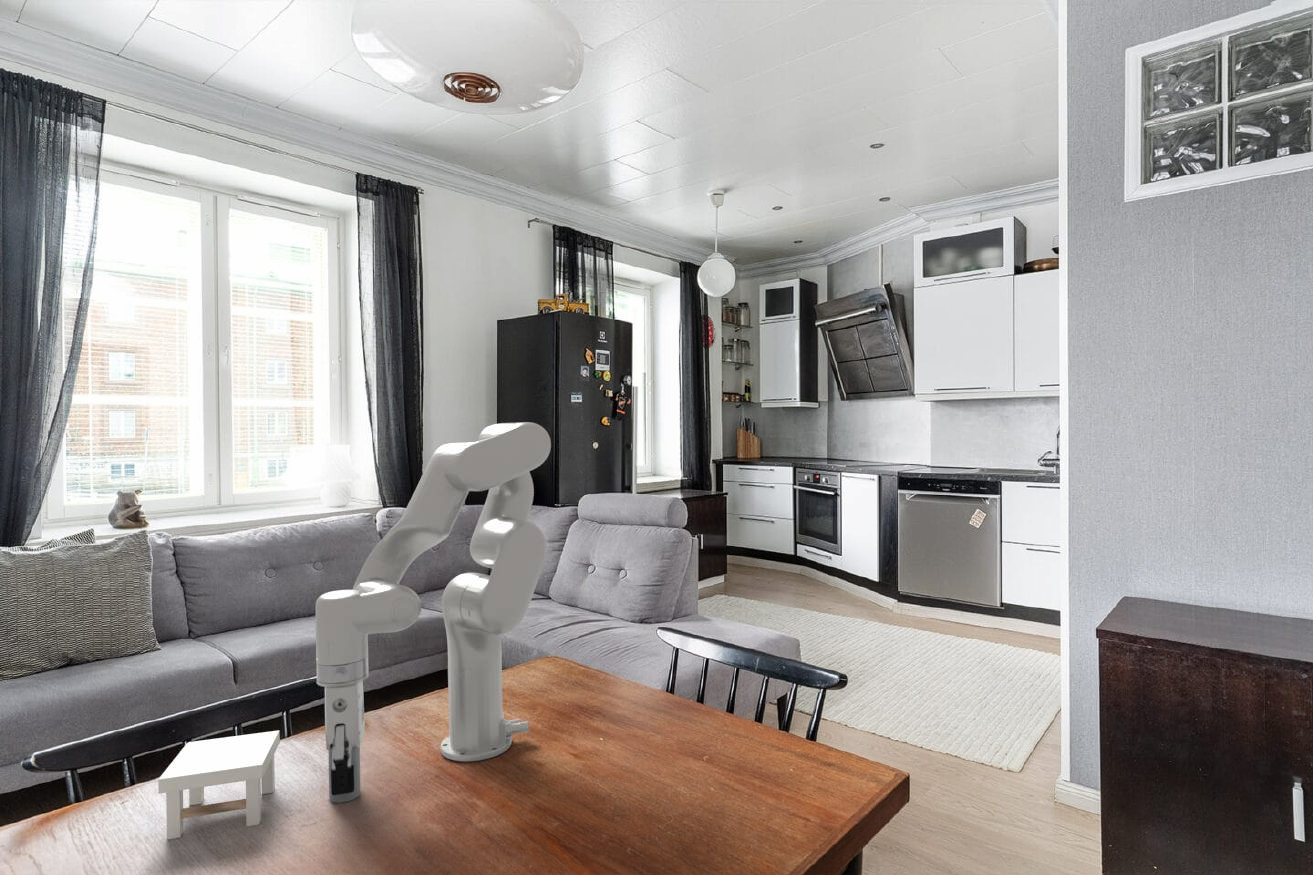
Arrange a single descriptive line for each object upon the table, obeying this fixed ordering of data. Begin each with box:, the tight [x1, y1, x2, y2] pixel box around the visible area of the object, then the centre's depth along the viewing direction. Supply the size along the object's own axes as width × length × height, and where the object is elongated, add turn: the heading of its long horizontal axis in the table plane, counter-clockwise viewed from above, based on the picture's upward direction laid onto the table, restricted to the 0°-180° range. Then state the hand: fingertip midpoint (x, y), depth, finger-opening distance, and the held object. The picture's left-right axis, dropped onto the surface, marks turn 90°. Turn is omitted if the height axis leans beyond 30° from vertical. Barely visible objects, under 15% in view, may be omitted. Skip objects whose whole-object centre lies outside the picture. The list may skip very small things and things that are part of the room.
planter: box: [327, 743, 361, 804], centre depth 112 cm, size 4×4×10 cm
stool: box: [157, 730, 281, 841], centre depth 108 cm, size 13×13×9 cm
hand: (344, 783), depth 112 cm, fingers closed on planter, 4 cm apart
